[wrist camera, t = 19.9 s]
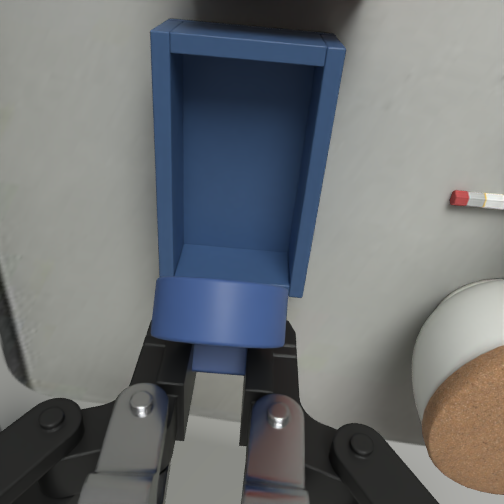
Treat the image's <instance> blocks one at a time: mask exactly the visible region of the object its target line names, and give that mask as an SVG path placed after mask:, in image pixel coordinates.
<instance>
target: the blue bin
mask: <svg viewBox="0 0 504 504" xmlns="http://www.w3.org/2000/svg"><path fill="white" fill-rule="evenodd" d="M150 39H151V65H152V92H153V118H154V144H155V170H156V196H157V223H158V249H159V275H160V277H164V276H185V277H203V278H216V279H228V280H238V281H247V282H256V283H263V284H270V285H276V286H280V287H284V288H286V289H287V290H288V296H289V297H297V298H302V296H303V291H304V285H305V279H306V274H307V268H308V262H309V257H310V251H311V246H312V240H313V234H314V229H315V223H316V217H317V212H318V206H319V201H320V195H321V189H322V184H323V178H324V172H325V167H326V161H327V155H328V150H329V144H330V139H331V133H332V127H333V122H334V116H335V110H336V105H337V99H338V94H339V88H340V82H341V77H342V71H343V65H344V60H345V54H346V48H345V47H344V46H343V44H342V43H341V42H340V41H339V39H338V38H337V37H336V35H335V34H333V33H322V32H311V31H300V30H289V29H279V28H268V27H257V26H246V25H235V24H224V23H214V22H203V21H192V20H181V19H168V20H167V21H165V22H163V23H162V24H160V25H159V26H157V27H155V28H154V29H152V30H151V31H150Z"/></svg>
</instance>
